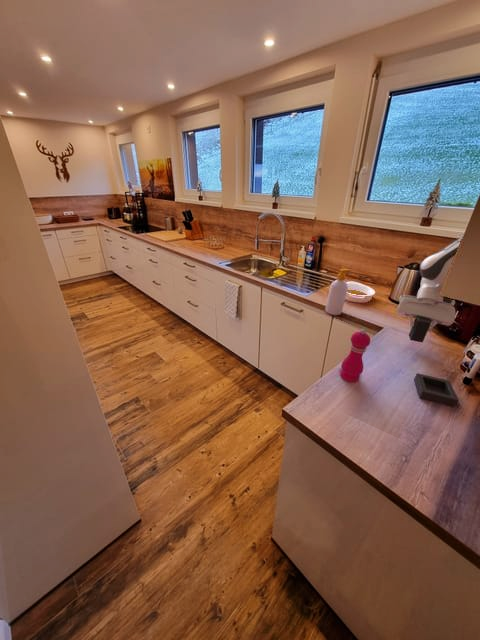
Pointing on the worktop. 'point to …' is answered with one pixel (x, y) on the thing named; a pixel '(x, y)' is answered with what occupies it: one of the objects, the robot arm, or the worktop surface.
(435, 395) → the base pad
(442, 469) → the worktop surface
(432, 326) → the robot arm
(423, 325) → the dark grey block
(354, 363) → the pepper mill
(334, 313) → the soap bottle
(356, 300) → the white oval dish
